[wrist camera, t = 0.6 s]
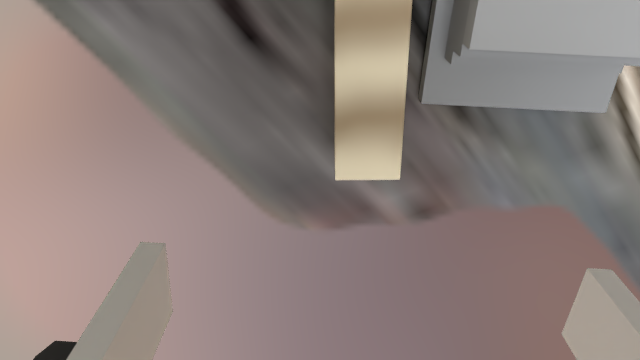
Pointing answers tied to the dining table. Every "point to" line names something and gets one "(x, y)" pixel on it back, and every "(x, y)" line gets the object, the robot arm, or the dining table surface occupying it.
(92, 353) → the robot arm
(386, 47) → the bar
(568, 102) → the fulcrum
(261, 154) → the dining table surface
